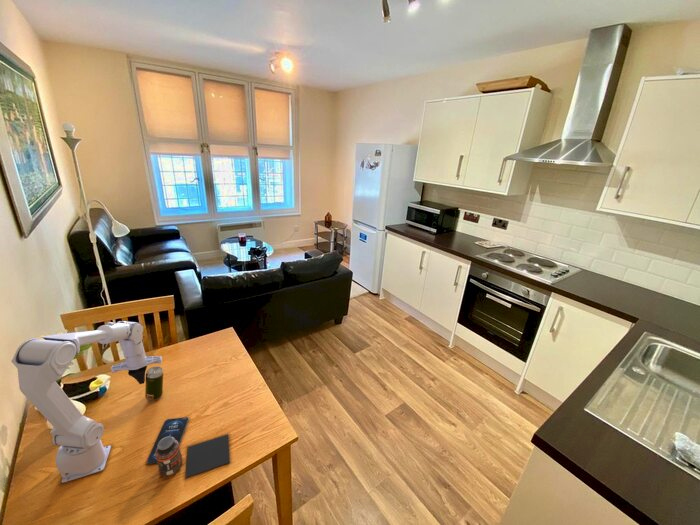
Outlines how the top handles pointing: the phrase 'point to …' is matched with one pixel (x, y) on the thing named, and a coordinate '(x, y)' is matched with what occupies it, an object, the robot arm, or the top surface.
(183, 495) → the top surface
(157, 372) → the beer can
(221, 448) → the mat
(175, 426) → the smartphone
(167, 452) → the supplement bottle
